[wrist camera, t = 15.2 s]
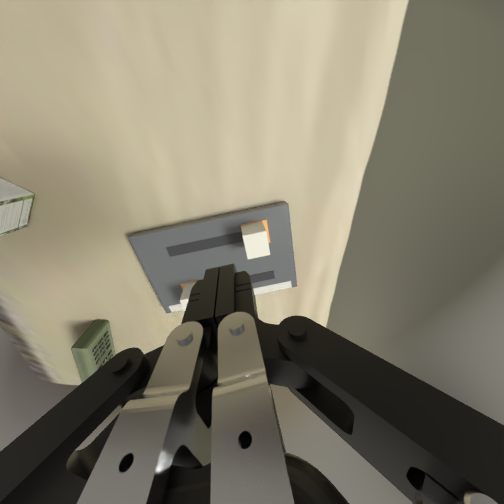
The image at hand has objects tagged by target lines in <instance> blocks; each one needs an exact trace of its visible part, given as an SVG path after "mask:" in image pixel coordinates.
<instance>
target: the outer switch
mask: <svg viewBox="0 0 504 504" xmlns="http://www.w3.org/2000/svg"><path fill="white" fill-rule="evenodd" d="M194 284H195V283H191V284H186V285H185V287H184V289H183V292H182V295H181V298H180V303H181V305H182V307H183V309H184V311H185V310H186V306H187V303H188V299H189V296H190V292H191V289H192V287H193V286H194Z"/></svg>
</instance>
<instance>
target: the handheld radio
mask: <svg viewBox="0 0 504 504" xmlns="http://www.w3.org/2000/svg"><path fill="white" fill-rule="evenodd" d="M71 350H72V353H73V356H74V359H75V362H76V365H77V368H78V372H79V375H80V378H81V381H82V383H83V382H84V381H85V380H86V379H87V378H89V377H90V376H91V375H92V374H93V373H95V372H96V371H97V370H98V369H99V368H100V367H102V366H103V365H104V364H105V363H106V362H108V361H109V360H110V359H111V358H112V357H114V356H115V351H114V346H113V341H112V336H111V331H110V326H109V321H108V320H101V319H97V320H96V321H95V322H94V323H93V324H92V325H91V326H90V327H89V328H88V329H87V330H86V332H85V333H84V334H83V335H82V336H81V337H80V338H79V339H78V341H77V342H76V343H75V344H74V345H73V346H72V348H71Z"/></svg>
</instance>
